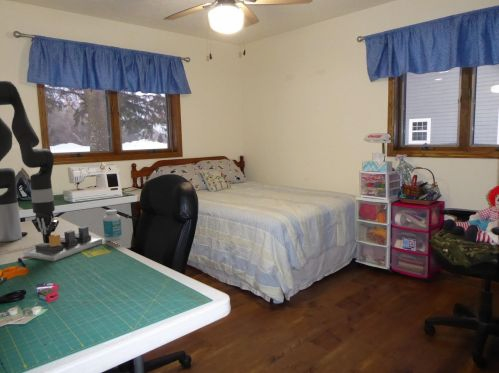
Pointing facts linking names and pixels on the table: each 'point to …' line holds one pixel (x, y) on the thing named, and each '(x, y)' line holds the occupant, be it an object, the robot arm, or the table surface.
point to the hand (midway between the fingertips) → (47, 242)
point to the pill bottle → (112, 226)
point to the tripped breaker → (54, 240)
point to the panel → (56, 257)
